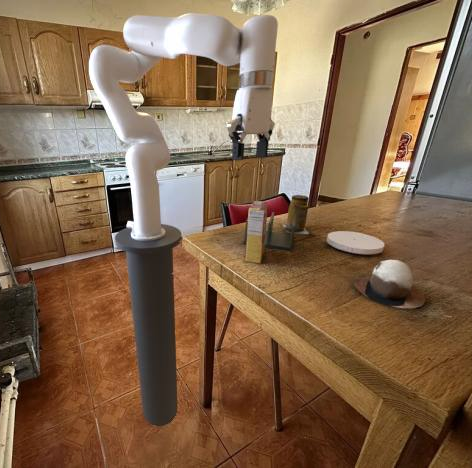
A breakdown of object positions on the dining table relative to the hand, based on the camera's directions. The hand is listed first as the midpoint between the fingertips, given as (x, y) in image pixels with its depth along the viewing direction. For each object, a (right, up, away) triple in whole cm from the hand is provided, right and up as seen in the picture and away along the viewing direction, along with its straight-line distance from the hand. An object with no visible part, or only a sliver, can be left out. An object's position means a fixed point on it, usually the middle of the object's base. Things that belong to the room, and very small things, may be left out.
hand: (249, 158), depth 67 cm
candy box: (+4, -26, +7) cm, 28 cm away
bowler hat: (+27, -33, -11) cm, 44 cm away
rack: (+12, -22, +17) cm, 31 cm away
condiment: (+25, -18, +26) cm, 40 cm away
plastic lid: (+35, -24, +11) cm, 43 cm away
